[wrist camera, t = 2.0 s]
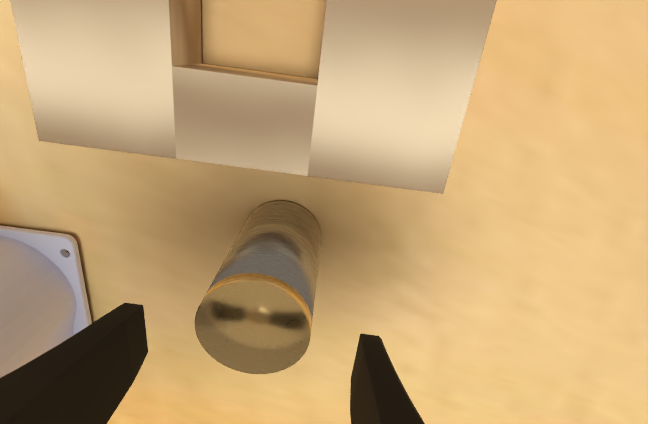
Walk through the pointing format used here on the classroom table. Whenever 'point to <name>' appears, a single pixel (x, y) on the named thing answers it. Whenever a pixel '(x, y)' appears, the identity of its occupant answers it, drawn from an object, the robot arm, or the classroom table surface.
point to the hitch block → (259, 88)
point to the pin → (264, 292)
